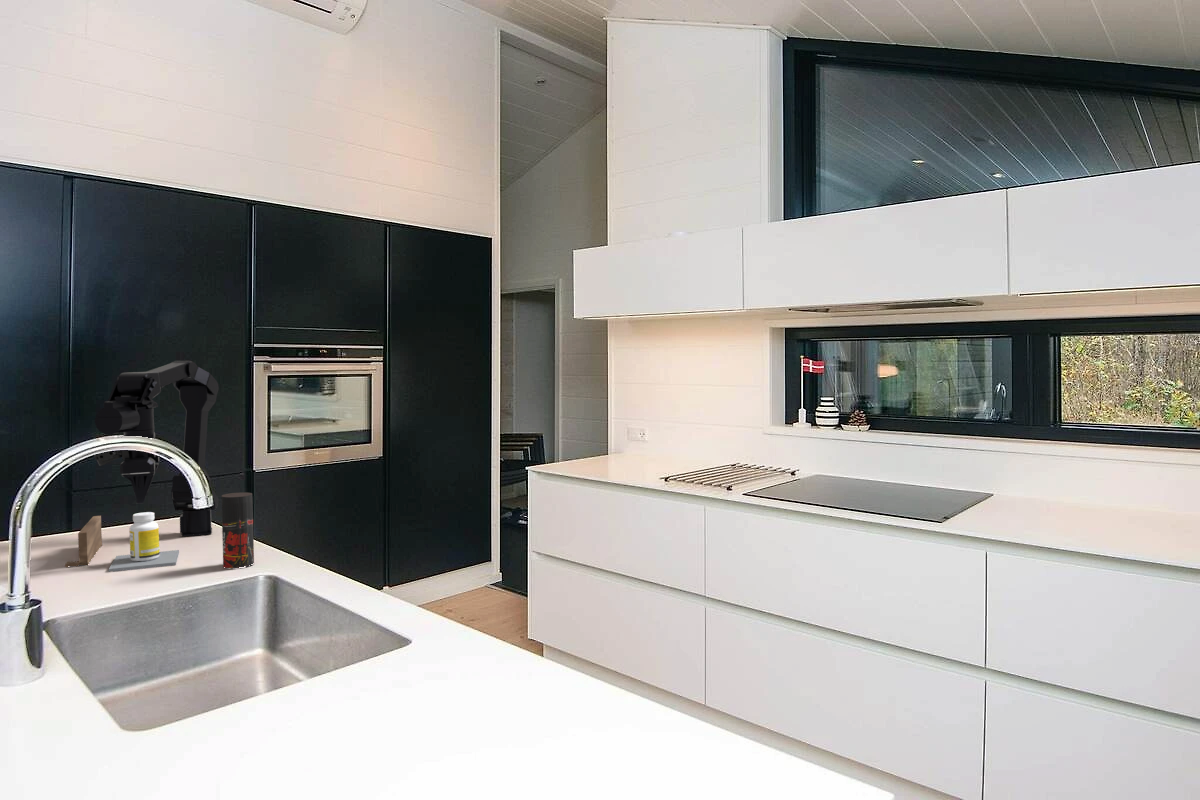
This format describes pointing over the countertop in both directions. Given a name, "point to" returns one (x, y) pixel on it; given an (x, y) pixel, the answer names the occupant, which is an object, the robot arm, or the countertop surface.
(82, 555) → the screen
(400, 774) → the countertop surface
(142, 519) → the supplement bottle
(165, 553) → the mat
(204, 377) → the robot arm
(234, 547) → the deodorant
